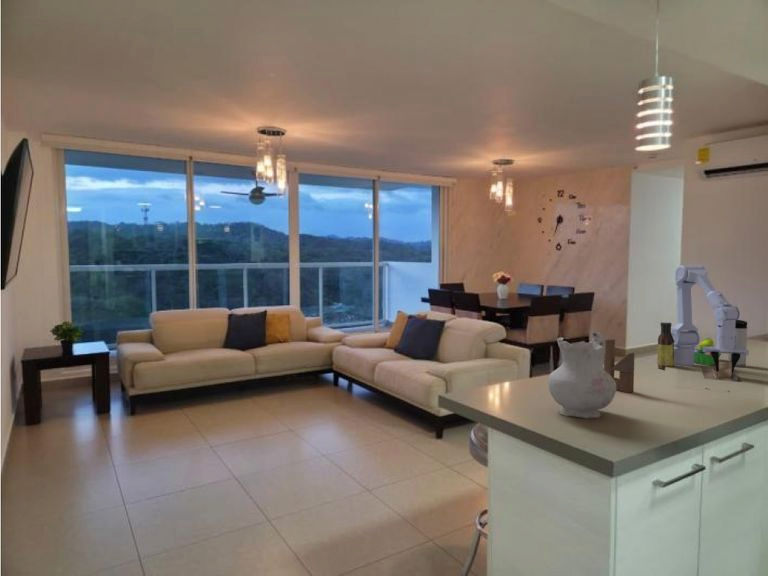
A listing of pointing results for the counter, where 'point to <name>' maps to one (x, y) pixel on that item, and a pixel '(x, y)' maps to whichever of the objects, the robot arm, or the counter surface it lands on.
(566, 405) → the ceramic pitcher
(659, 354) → the sauce bottle
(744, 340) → the travel mug
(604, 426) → the counter surface
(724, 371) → the maple block
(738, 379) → the walnut board
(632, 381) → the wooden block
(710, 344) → the fruit basket
